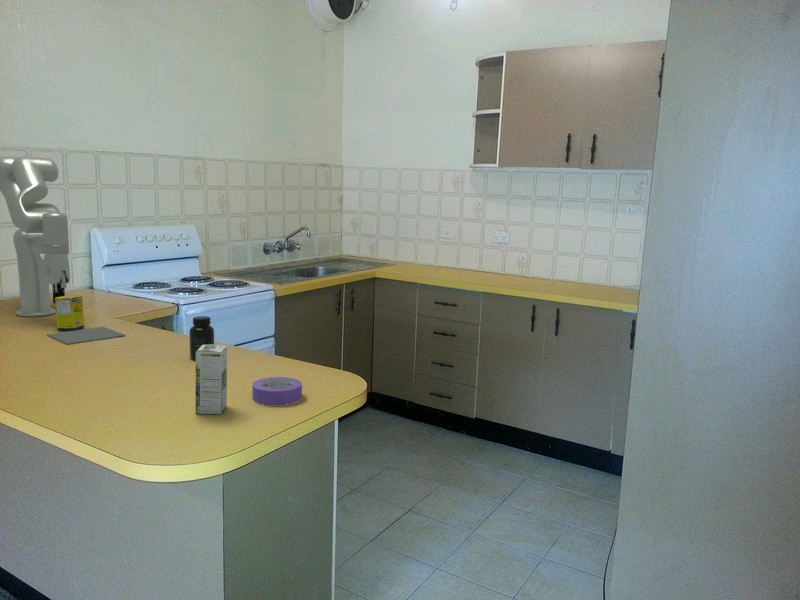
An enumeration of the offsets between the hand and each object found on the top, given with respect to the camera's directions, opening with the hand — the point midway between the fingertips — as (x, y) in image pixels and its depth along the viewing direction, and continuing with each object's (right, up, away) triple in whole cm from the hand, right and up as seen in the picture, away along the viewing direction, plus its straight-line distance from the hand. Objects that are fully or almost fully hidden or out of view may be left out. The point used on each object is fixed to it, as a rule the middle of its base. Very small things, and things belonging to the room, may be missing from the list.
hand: (59, 303), depth 212 cm
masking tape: (+87, -23, -62) cm, 109 cm away
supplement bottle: (+59, -16, -31) cm, 68 cm away
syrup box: (+74, -24, -73) cm, 106 cm away
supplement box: (+6, -9, -4) cm, 12 cm away
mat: (+15, -10, -11) cm, 22 cm away
